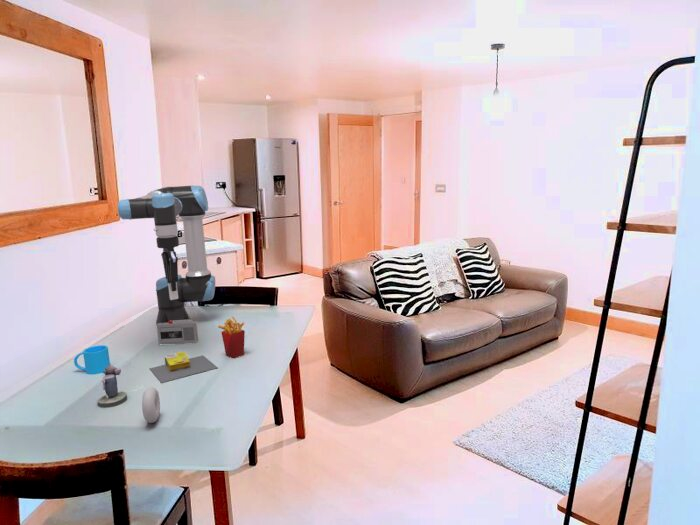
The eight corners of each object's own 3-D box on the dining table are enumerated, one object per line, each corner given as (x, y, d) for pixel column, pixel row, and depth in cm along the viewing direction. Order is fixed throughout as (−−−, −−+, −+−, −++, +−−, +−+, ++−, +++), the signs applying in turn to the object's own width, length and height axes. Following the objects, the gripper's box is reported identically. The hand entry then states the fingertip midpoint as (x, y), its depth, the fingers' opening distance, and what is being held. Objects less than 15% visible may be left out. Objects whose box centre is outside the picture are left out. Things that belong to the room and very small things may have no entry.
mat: (149, 369, 183) (149, 368, 183) (203, 355, 194) (203, 355, 194) (161, 383, 170) (161, 382, 170) (217, 368, 181) (217, 367, 181)
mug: (113, 364, 189) (110, 344, 187) (106, 373, 181) (103, 351, 179) (79, 368, 187) (76, 347, 185) (71, 376, 179) (68, 355, 177)
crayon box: (165, 362, 188) (169, 372, 178) (164, 355, 187) (168, 365, 177) (185, 358, 191) (190, 368, 181) (184, 351, 191) (190, 360, 180)
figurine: (121, 393, 163) (117, 358, 161) (131, 401, 157) (126, 365, 155) (94, 401, 158) (89, 366, 156) (102, 410, 152) (97, 373, 150)
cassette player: (158, 345, 208) (156, 322, 206) (160, 343, 211) (158, 320, 209) (196, 343, 209) (194, 320, 207) (198, 341, 212) (195, 318, 210)
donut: (150, 413, 148) (146, 382, 146) (162, 412, 149) (158, 381, 147) (143, 430, 139) (139, 397, 137) (156, 428, 139) (152, 395, 137)
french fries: (247, 354, 193) (244, 317, 190) (229, 361, 187) (225, 323, 185) (234, 349, 199) (231, 313, 196) (216, 356, 193) (212, 318, 191)
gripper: (151, 235, 184) (159, 297, 188) (161, 239, 173) (168, 304, 178) (172, 233, 188) (179, 293, 193) (182, 236, 177) (189, 300, 182)
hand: (174, 298), depth 185 cm, fingers closed
